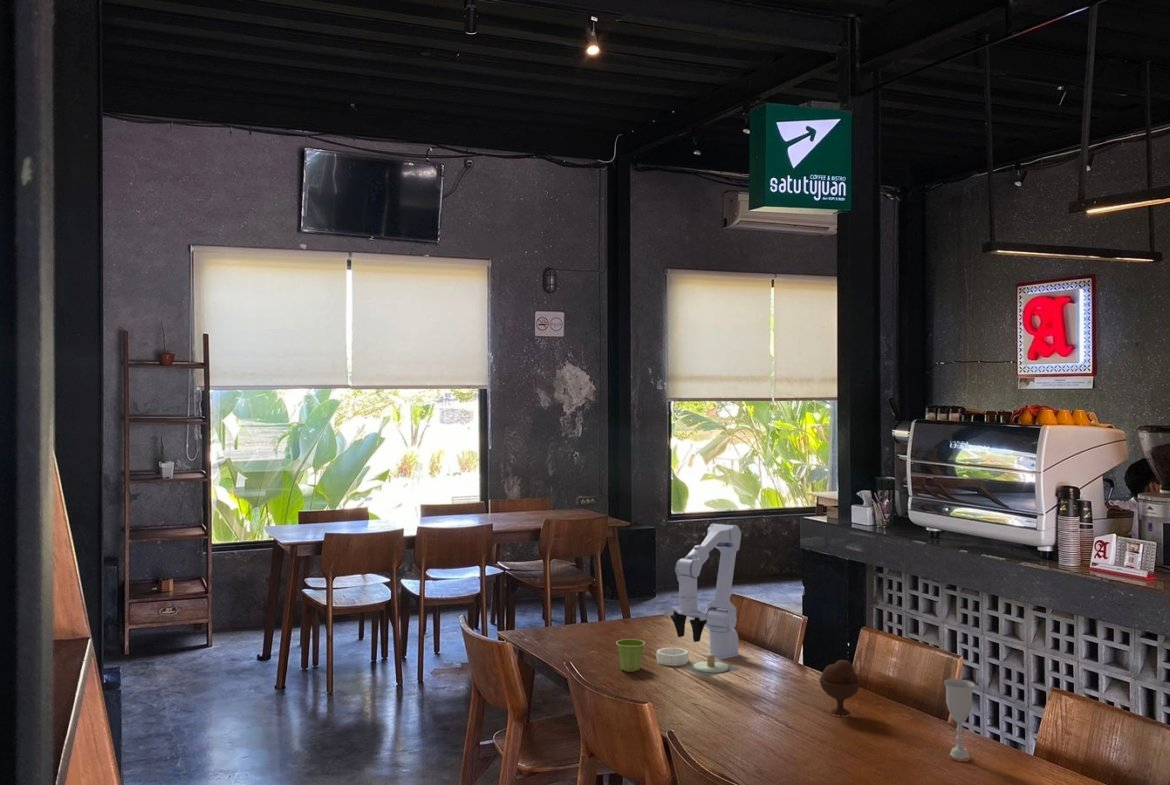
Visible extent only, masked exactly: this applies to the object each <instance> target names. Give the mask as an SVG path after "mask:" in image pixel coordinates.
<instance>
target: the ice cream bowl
mask: <svg viewBox="0 0 1170 785" xmlns="http://www.w3.org/2000/svg"><path fill="white" fill-rule="evenodd" d="M822 671H823V672H822V674H821V676H820V677H819V683H820V686H821V690H823V691H824V693H825V694H827V695H828V696H829V697H831V698H833V699H835V701H836V707H835V708H833V709H832V710H830V713H832V714H835V715H840V716H842V715H843V716H846V715H849V714H850V715H851V712H850V711H849V710H847V709H846V708H844V702H845V700H848V699H850V698H852V697H853V696H855V695H856V694H857V693H858V691H859V688H860V684H861V679H860V678H859V676H858V674H857V673H856V672H855V669H854V666H853V664H852V663H851V662H850V661H849V660H846V659H839V660H837V661H836V662H835V663H832V664H828V665H827V666H826V667H824V669H823V670H822Z"/></svg>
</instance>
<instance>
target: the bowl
mask: <svg viewBox="0 0 1170 785" xmlns="http://www.w3.org/2000/svg"><path fill="white" fill-rule="evenodd" d="M655 653H656V654H655V655H656V662H657V663H658V664H660V665H663V666H673V667H674V666H675V667H676V666H677V667H678V666H683V665H686V664H687V663H688V662H689V651H688V650H687V649H684V648H681V647H663V648H658V649H657V650H656V652H655Z"/></svg>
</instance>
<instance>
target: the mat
mask: <svg viewBox="0 0 1170 785" xmlns="http://www.w3.org/2000/svg"><path fill="white" fill-rule="evenodd" d="M715 662H717V661H716V660H715ZM727 665H728V670H727V671H725V672H721V673H704V672H699V671H696V670H695V669H694V664H693V665H689V666H685V667H682V670H686V671H689V672H692V673H695V674H699V675H702V676H705V677H711V676H717V675H721V674H724V673H729V672H732V671H737V670H740V667H739V668H738V667H735V666H733V665H729V664H727Z"/></svg>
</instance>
